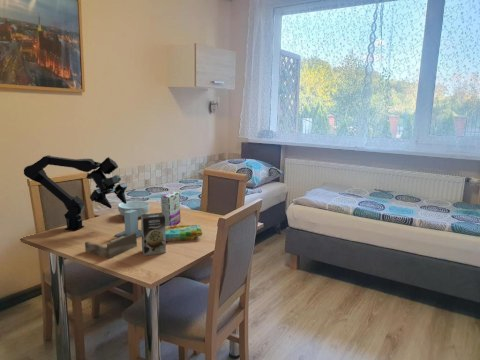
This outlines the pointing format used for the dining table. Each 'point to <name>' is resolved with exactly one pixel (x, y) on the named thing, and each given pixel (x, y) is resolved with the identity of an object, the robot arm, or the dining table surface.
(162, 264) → the dining table surface
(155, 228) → the coffee box
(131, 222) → the tall block
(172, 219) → the candy bar box
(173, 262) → the dining table surface
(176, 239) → the puzzle game
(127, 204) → the cereal bowl
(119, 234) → the rubber mat
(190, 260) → the dining table surface
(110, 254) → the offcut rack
